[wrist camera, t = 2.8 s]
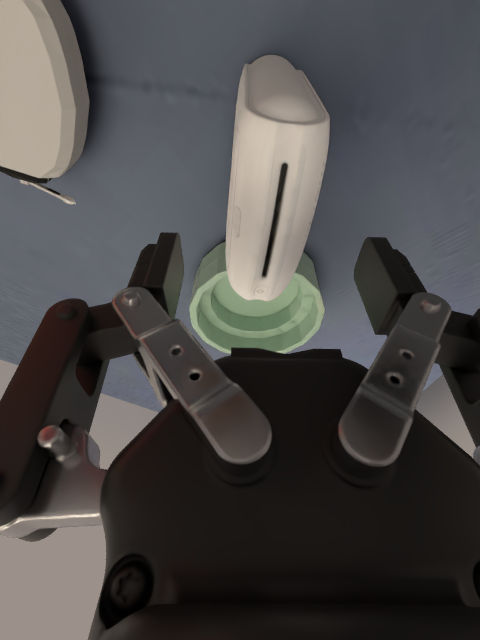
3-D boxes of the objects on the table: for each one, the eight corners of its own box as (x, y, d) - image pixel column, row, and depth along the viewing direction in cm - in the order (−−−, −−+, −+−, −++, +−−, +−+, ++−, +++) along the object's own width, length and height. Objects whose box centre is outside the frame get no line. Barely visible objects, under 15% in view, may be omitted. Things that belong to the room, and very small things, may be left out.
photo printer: (278, 214, 26) (293, 321, 18) (228, 209, 26) (220, 316, 18) (309, 58, 19) (361, 117, 10) (239, 49, 19) (234, 102, 10)
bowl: (190, 229, 28) (182, 263, 24) (327, 232, 28) (338, 267, 24) (200, 321, 37) (196, 356, 33) (304, 323, 37) (310, 358, 33)
